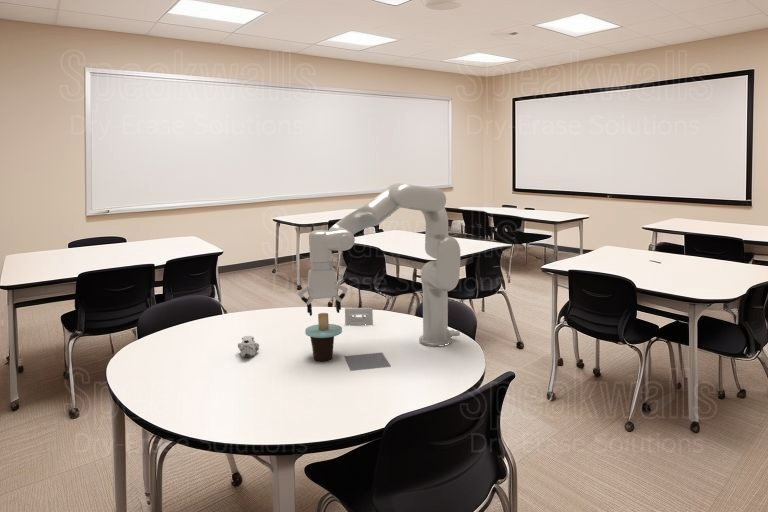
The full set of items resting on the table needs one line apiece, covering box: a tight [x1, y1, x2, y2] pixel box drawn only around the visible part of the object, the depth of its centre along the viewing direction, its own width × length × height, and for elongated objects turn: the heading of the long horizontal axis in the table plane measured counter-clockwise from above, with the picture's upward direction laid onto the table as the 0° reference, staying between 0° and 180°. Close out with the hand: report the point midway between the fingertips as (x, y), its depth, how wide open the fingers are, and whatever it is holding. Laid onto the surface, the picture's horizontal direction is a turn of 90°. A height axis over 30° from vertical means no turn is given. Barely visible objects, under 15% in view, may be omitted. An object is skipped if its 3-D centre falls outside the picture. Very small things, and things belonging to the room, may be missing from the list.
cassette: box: [344, 307, 374, 327], centre depth 226 cm, size 12×2×8 cm, turn 87°
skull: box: [237, 335, 260, 358], centre depth 192 cm, size 8×9×12 cm
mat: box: [344, 352, 392, 372], centre depth 184 cm, size 14×14×1 cm
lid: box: [304, 312, 343, 338], centre depth 186 cm, size 13×13×6 cm
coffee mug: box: [309, 336, 335, 363], centre depth 187 cm, size 12×9×10 cm
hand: (324, 313), depth 186 cm, fingers open, 9 cm apart
